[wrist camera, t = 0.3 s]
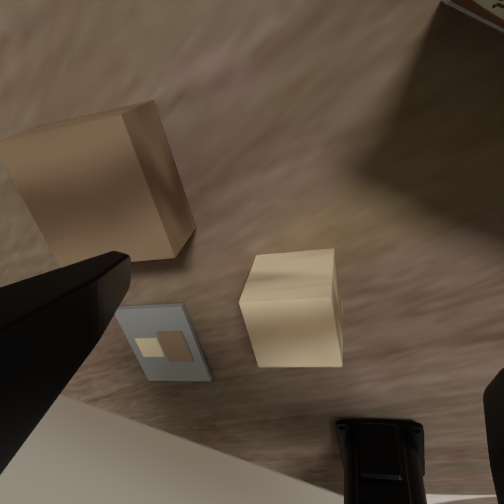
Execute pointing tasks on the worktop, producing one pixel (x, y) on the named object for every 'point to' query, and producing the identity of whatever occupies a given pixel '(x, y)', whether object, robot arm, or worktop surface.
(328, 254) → the maple cube
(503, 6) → the food container
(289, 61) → the worktop surface
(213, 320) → the worktop surface
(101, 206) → the walnut block
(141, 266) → the worktop surface
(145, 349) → the card
